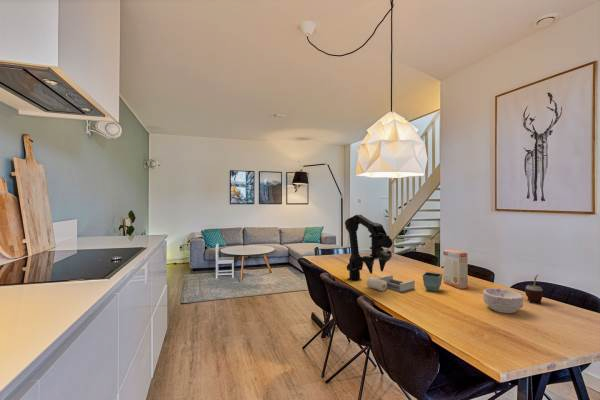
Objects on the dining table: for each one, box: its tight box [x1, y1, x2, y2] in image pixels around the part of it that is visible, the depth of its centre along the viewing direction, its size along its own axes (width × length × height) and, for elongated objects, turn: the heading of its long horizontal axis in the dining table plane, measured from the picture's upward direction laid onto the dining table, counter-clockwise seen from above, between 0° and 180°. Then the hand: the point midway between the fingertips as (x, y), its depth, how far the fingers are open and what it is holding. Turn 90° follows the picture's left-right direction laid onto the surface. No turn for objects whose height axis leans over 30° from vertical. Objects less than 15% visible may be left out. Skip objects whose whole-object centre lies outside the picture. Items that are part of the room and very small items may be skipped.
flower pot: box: [422, 271, 443, 292], centre depth 168 cm, size 9×9×9 cm
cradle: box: [377, 274, 416, 294], centre depth 173 cm, size 16×12×5 cm
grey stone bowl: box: [482, 287, 524, 314], centre depth 137 cm, size 15×15×8 cm
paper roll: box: [366, 276, 387, 292], centre depth 171 cm, size 10×6×6 cm, turn 35°
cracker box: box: [442, 248, 469, 290], centre depth 177 cm, size 14×6×21 cm, turn 10°
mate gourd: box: [524, 274, 544, 305], centre depth 147 cm, size 8×8×15 cm
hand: (376, 272), depth 171 cm, fingers open, 9 cm apart
